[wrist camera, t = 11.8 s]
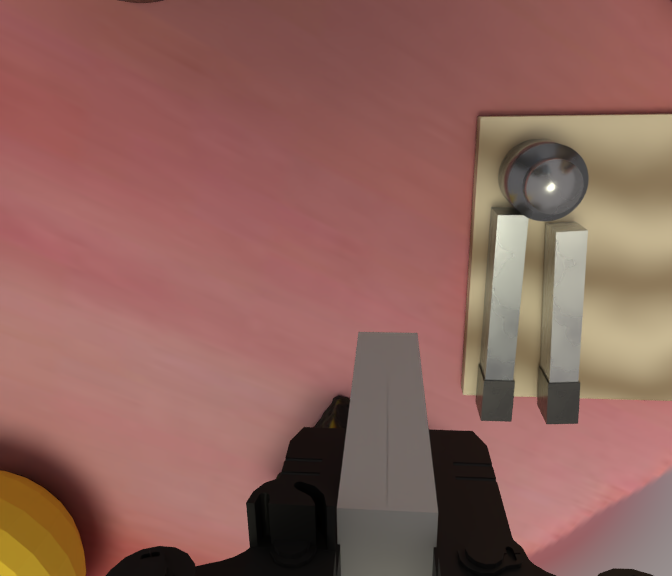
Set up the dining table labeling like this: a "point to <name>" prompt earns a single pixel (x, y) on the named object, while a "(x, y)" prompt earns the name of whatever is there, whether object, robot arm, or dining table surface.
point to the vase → (36, 532)
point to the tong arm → (559, 287)
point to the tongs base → (510, 274)
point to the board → (589, 252)
